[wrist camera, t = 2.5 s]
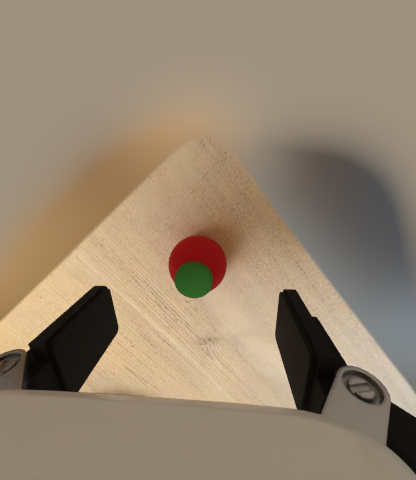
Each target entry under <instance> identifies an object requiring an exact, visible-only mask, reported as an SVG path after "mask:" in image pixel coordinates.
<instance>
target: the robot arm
mask: <svg viewBox="0 0 416 480" xmlns="http://www.w3.org/2000/svg"><path fill="white" fill-rule="evenodd" d="M117 332H118V323H117V319H116V314H115V310H114V305H113V301H112V297H111V292H110V290H109V289H108V288H107V287H106V286H94V287H93V288H91V289H90V290H89V291H88V292H87V293H86V294H85V295H84V296H82V297H81V298H80V299H79V300H78V301H77V302H76V303H74V304H73V305H72V306H71V307H70V308H69V309H68V310H67V311H65V312H64V313H63V314H62V315H61V316H60V317H59V318H57V319H56V320H55V321H54V322H53V323H52V324H51V325H50V326H48V327H47V328H46V329H45V330H44V331H43V332H42V333H40V334H39V335H38V336H37V337H36V338H35V339H34V340H33V341H31V342H30V343H29V344H28V345H29V347H30V350H29V351H28V352H26V351H25V350H22V349H16V350H11V351H8V352H5V353H3V354H1V355H0V480H416V417H414V416H412V415H411V414H409V413H408V412H406V411H404V410H403V409H401V408H400V407H398V406H397V405H395V404H393V403H392V402H391V400H390V395H389V393H388V391H387V389H386V388H385V386H384V385H383V384H382V383H381V382H380V381H379V380H378V379H377V378H376V377H375V376H373V375H372V374H370V373H369V372H367V371H365V370H363V369H361V368H358V367H354V366H347V364H346V363H345V361H344V359H343V358H342V356H341V355H340V353H339V351H338V350H337V348H336V347H335V345H334V343H333V342H332V340H331V339H330V337H329V336H328V334H327V332H326V331H325V329H324V328H323V326H322V324H321V323H320V321H319V320H318V319H317V317H312V316H311V314H310V313H309V311H308V309H307V308H306V306H305V304H304V303H303V301H302V299H301V298H300V296H299V294H298V293H297V291H296V290H286V289H284V290H283V292H280V294H279V303H278V312H277V322H276V331H275V336H276V341H277V345H278V348H279V351H280V354H281V358H282V361H283V364H284V368H285V371H286V374H287V378H288V381H289V384H290V387H291V391H292V394H293V397H294V401H295V404H296V407H297V410H296V409H289V408H282V407H271V406H261V405H250V404H239V403H226V402H213V401H199V400H186V399H172V398H158V397H144V396H129V395H114V394H98V393H82V392H78V391H79V390H80V388H81V387H82V385H83V384H84V382H85V381H86V379H87V378H88V376H89V375H90V373H91V372H92V370H93V369H94V367H95V366H96V364H97V363H98V361H99V360H100V358H101V357H102V355H103V354H104V352H105V351H106V349H107V348H108V346H109V345H110V343H111V342H112V340H113V339H114V337H115V336H116V334H117Z"/></svg>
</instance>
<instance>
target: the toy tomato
mask: <svg viewBox="0 0 416 480" xmlns="http://www.w3.org/2000/svg"><path fill="white" fill-rule="evenodd" d="M226 267H227V262H226V257H225V254H224V251H223V250H222V248H221V247H220V245H219V244H218V243H217V242H215V241H214V240H212V239H210V238H208V237H205V236H191V237H188V238H185V239H184V240H182V241H180V242H179V243H178V244H177V245H176V246H175V247H174V249H173V251H172V252H171V255H170V258H169V271H170V275H171V277H172V279H173V281H174V282H175V285H176V288H177V289H178V291H179V292H180V293H181V294H183V295H184V296H187V297H190V298H199V297H202V296H204V295H206V294H207V293H208V292H209V291H211V290H213V289H214V288H216V287H217V286H218V285H219V284H220V282H221V281H222V280H223V278H224V275H225V272H226Z"/></svg>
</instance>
